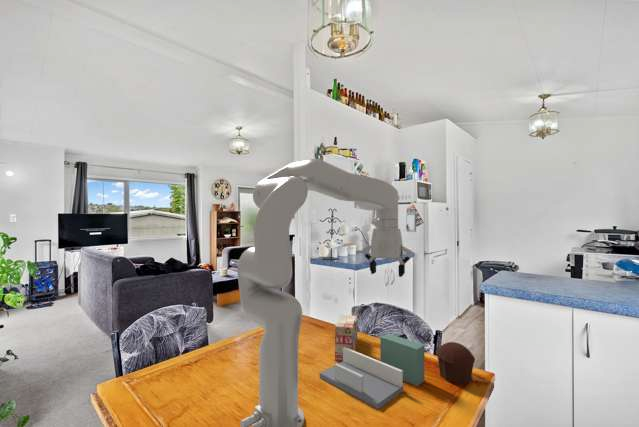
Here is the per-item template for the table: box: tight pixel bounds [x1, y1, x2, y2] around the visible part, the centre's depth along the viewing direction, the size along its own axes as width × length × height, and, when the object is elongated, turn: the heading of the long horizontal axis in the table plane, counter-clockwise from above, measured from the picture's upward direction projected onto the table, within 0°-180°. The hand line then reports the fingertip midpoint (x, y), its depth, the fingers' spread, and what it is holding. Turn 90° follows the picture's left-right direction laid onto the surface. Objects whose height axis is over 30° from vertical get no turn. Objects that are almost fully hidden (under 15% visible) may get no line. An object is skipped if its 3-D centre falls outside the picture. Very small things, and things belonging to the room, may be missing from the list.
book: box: [379, 332, 425, 387], centre depth 99 cm, size 4×13×11 cm, turn 44°
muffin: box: [435, 341, 476, 385], centre depth 99 cm, size 12×11×10 cm
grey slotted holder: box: [318, 347, 405, 410], centre depth 94 cm, size 12×22×6 cm, turn 44°
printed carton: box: [334, 314, 358, 362], centre depth 119 cm, size 21×6×12 cm, turn 169°
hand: (386, 274), depth 107 cm, fingers open, 9 cm apart
